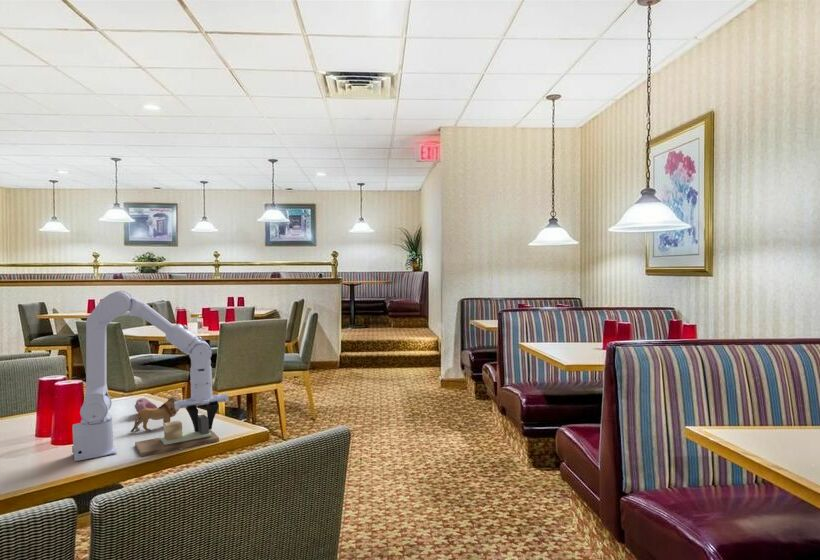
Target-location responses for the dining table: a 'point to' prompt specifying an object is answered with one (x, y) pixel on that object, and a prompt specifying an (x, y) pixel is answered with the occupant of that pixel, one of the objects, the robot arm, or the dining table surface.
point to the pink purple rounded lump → (144, 404)
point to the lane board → (158, 447)
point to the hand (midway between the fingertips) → (203, 429)
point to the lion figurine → (156, 414)
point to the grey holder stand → (192, 432)
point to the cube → (173, 430)
